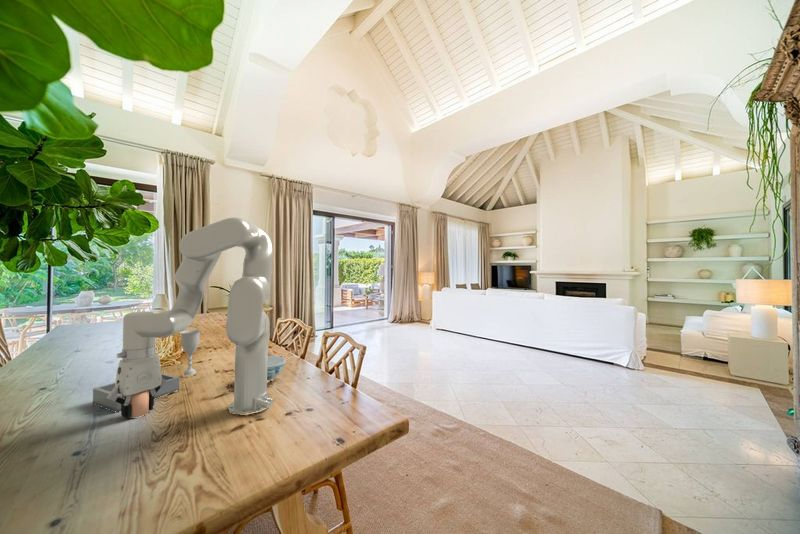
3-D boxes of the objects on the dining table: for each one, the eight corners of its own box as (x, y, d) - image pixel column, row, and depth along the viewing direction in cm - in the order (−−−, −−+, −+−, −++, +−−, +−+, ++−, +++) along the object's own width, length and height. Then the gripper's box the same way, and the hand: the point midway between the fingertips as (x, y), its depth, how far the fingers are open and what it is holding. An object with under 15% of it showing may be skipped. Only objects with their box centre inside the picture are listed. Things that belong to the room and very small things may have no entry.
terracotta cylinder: (152, 412, 94) (152, 390, 94) (132, 420, 89) (133, 396, 89) (142, 409, 96) (143, 387, 96) (123, 416, 91) (123, 393, 91)
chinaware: (275, 388, 114) (276, 367, 114) (236, 387, 115) (236, 366, 115) (290, 374, 129) (291, 356, 129) (255, 373, 130) (256, 355, 130)
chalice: (182, 379, 121) (183, 334, 121) (176, 375, 125) (177, 331, 126) (203, 374, 127) (203, 331, 127) (196, 371, 131) (197, 329, 131)
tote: (179, 391, 110) (179, 377, 110) (116, 412, 94) (117, 396, 94) (155, 384, 116) (155, 371, 116) (92, 403, 99) (93, 388, 99)
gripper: (110, 362, 83) (109, 429, 83) (176, 347, 99) (175, 404, 99) (95, 358, 86) (94, 423, 86) (162, 345, 102) (161, 399, 102)
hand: (137, 412), depth 93 cm, fingers closed on terracotta cylinder, 4 cm apart
